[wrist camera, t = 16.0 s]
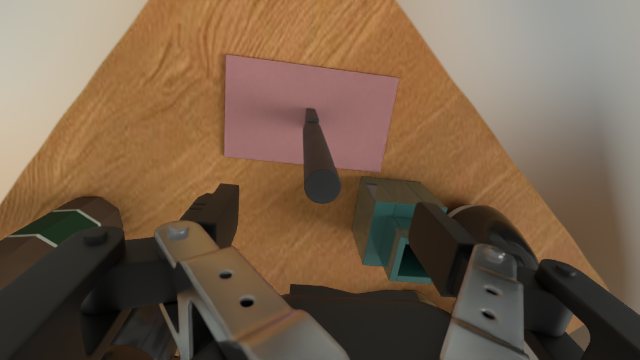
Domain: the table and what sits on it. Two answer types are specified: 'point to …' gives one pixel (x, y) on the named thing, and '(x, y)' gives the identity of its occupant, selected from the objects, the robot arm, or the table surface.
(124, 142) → the table surface
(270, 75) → the place mat
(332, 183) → the stepped grey rod
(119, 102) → the table surface
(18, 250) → the beer bottle
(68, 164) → the table surface
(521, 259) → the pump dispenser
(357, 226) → the green square vase
